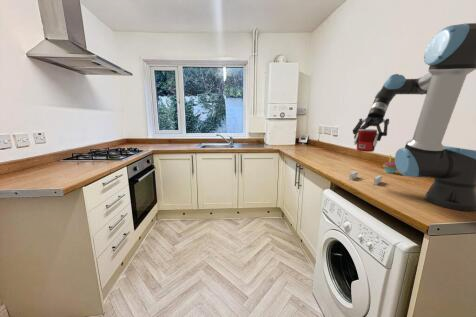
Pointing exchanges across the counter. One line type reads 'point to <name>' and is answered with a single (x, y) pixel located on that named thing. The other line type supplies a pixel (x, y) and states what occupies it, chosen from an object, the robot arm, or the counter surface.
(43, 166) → the counter surface
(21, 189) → the counter surface
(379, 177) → the channel
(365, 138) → the canned food
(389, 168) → the cupcake
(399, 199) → the counter surface
